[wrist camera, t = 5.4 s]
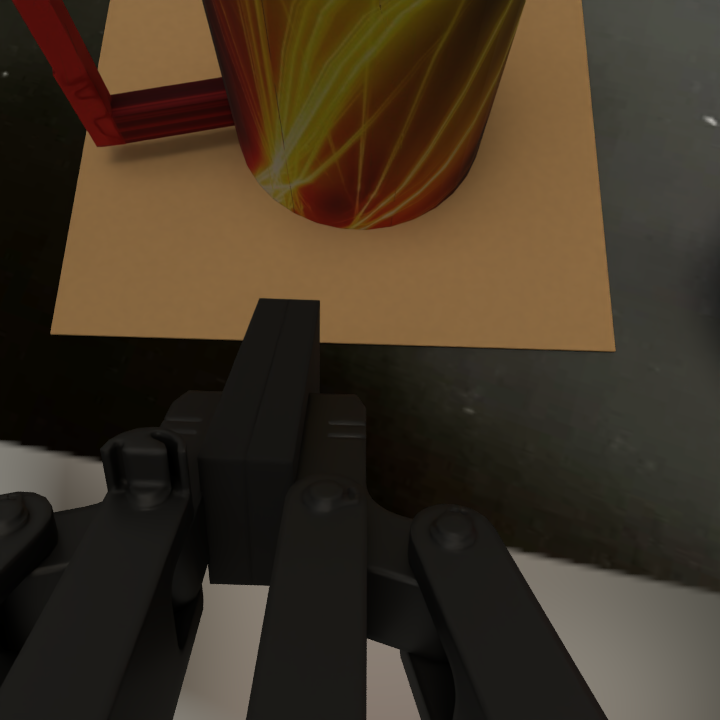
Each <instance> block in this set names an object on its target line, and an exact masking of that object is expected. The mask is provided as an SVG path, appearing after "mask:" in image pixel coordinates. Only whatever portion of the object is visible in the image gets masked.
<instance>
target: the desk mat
mask: <svg viewBox="0 0 720 720" xmlns="http://www.w3.org/2000/svg"><path fill="white" fill-rule="evenodd" d="M98 71H99V73H100V75H101V77H102V79H103V81H104V83H105V85H106V87H107V89H108V91H109V93H110V95H112V94H118V93H125V92H131V91H137V90H144V89H150V88H156V87H162V86H169V85H175V84H181V83H187V82H194V81H200V80H206V79H212V78H219V77H222V75H221V71H220V67H219V64H218V60H217V56H216V52H215V48H214V44H213V41H212V37H211V33H210V29H209V25H208V21H207V18H206V14H205V10H204V6H203V2H202V0H110V4H109V9H108V15H107V21H106V26H105V32H104V37H103V43H102V48H101V54H100V60H99V65H98ZM259 298H272V299H300V300H320V343H337V344H370V345H403V346H435V347H468V348H501V349H534V350H567V351H600V352H615V341H614V331H613V321H612V310H611V300H610V290H609V279H608V269H607V258H606V248H605V238H604V227H603V217H602V207H601V196H600V186H599V176H598V165H597V155H596V145H595V134H594V124H593V114H592V103H591V93H590V82H589V72H588V62H587V51H586V41H585V31H584V20H583V10H582V0H526V2H525V5H524V8H523V11H522V15H521V18H520V21H519V24H518V27H517V30H516V33H515V36H514V40H513V43H512V46H511V49H510V52H509V55H508V58H507V62H506V65H505V68H504V71H503V74H502V77H501V80H500V83H499V87H498V90H497V93H496V96H495V99H494V102H493V105H492V108H491V112H490V115H489V118H488V121H487V124H486V127H485V130H484V134H483V137H482V140H481V143H480V146H479V149H478V152H477V155H476V158H475V160H474V162H473V164H472V166H471V169H470V171H469V173H468V175H467V177H466V178H465V179H464V180H463V182H462V183H461V184H460V185H459V187H458V188H457V189H456V190H455V192H454V193H453V194H452V195H451V196H449V197H448V198H447V199H446V200H445V201H443V202H442V203H441V204H440V205H439V206H437V207H436V208H435V209H433V210H431V211H429V212H427V213H425V214H423V215H422V216H420V217H418V218H416V219H414V220H411V221H408V222H404V223H401V224H398V225H395V226H392V227H385V228H377V229H369V230H360V229H341V228H336V227H332V226H328V225H323V224H319V223H316V222H313V221H311V220H309V219H306V218H304V217H302V216H299V215H297V214H295V213H293V212H292V211H290V210H289V209H287V208H286V207H284V206H283V205H281V204H280V203H278V202H277V201H275V200H274V199H273V198H272V197H271V196H270V195H269V194H268V193H267V192H266V191H265V190H264V189H263V188H262V187H261V186H260V185H259V183H258V182H257V180H256V179H255V177H254V176H253V174H252V172H251V171H250V169H249V168H248V166H247V164H246V161H245V158H244V155H243V153H242V150H241V147H240V144H239V140H238V136H237V132H236V129H235V126H230V127H223V128H217V129H211V130H205V131H199V132H193V133H187V134H181V135H175V136H169V137H163V138H157V139H151V140H145V141H139V142H133V143H127V144H124V145H115V146H107V147H97V146H96V145H95V143H94V141H93V140H92V138H91V136H90V135H89V133H88V131H87V132H86V138H85V143H84V149H83V154H82V160H81V166H80V171H79V177H78V182H77V188H76V193H75V199H74V205H73V210H72V216H71V221H70V227H69V232H68V238H67V244H66V249H65V255H64V260H63V266H62V271H61V277H60V283H59V288H58V294H57V299H56V305H55V311H54V316H53V322H52V327H51V333H50V334H51V335H74V336H107V337H140V338H173V339H206V340H238V341H243V339H244V336H245V334H246V331H247V328H248V326H249V323H250V321H251V318H252V316H253V313H254V310H255V308H256V305H257V303H258V300H259Z"/></svg>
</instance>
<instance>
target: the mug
mask: <svg viewBox="0 0 720 720" xmlns="http://www.w3.org/2000/svg"><path fill="white" fill-rule="evenodd" d="M12 2H13V3H14V5H15V7H16V8H17V10H18V12H19V13H20V15H21V17H22V18H23V20H24V22H25V23H26V25H27V27H28V28H29V30H30V32H31V33H32V35H33V37H34V38H35V40H36V42H37V43H38V45H39V47H40V48H41V50H42V52H43V53H44V55H45V56H46V58H47V60H48V61H49V63H50V65H51V66H52V68H53V76H54V77H55V79H56V81H57V82H58V84H59V85H60V87H61V89H62V90H63V92H64V94H65V95H66V97H67V99H68V100H69V102H70V103H71V105H72V107H73V108H74V110H75V112H76V113H77V115H78V117H79V118H80V120H81V122H82V123H83V125H84V126H85V128H86V130H87V131H88V133H89V135H90V136H91V138H92V140H93V141H94V143H95V145H96V146H97V147H107V146H115V145H124V144H127V143H133V142H139V141H145V140H151V139H157V138H163V137H169V136H175V135H181V134H187V133H193V132H199V131H205V130H211V129H217V128H223V127H230V126H235V129H236V132H237V136H238V140H239V144H240V147H241V150H242V153H243V155H244V158H245V161H246V164H247V166H248V168H249V169H250V171H251V172H252V174H253V176H254V177H255V179H256V180H257V182H258V183H259V185H260V186H261V187H262V188H263V189H264V190H265V191H266V192H267V193H268V194H269V195H270V196H271V197H272V198H273V199H274V200H275V201H277V202H278V203H280V204H281V205H283V206H284V207H286V208H287V209H289V210H290V211H292V212H293V213H295V214H297V215H299V216H302V217H304V218H306V219H309V220H311V221H313V222H316V223H319V224H323V225H328V226H332V227H336V228H341V229H360V230H369V229H377V228H385V227H392V226H395V225H398V224H401V223H404V222H408V221H411V220H414V219H416V218H418V217H420V216H422V215H423V214H425V213H427V212H429V211H431V210H433V209H435V208H436V207H437V206H439V205H440V204H441V203H442V202H443V201H445V200H446V199H447V198H448V197H449V196H451V195H452V194H453V193H454V192H455V190H456V189H457V188H458V187H459V185H460V184H461V183H462V182H463V180H464V179H465V178H466V177H467V175H468V173H469V171H470V169H471V166H472V164H473V162H474V160H475V158H476V155H477V152H478V149H479V146H480V143H481V140H482V137H483V134H484V130H485V127H486V124H487V121H488V118H489V115H490V112H491V108H492V105H493V102H494V99H495V96H496V93H497V90H498V87H499V83H500V80H501V77H502V74H503V71H504V68H505V65H506V62H507V58H508V55H509V52H510V49H511V46H512V43H513V40H514V36H515V33H516V30H517V27H518V24H519V21H520V18H521V15H522V11H523V8H524V5H525V2H526V0H202V2H203V6H204V10H205V14H206V18H207V21H208V25H209V29H210V33H211V37H212V41H213V44H214V48H215V52H216V56H217V60H218V64H219V67H220V71H221V75H222V77H219V78H212V79H206V80H200V81H194V82H187V83H181V84H175V85H169V86H162V87H156V88H150V89H144V90H137V91H131V92H125V93H118V94H112V95H110V93H109V91H108V89H107V87H106V85H105V83H104V81H103V79H102V77H101V75H100V73H99V71H98V69H97V68H96V66H95V64H94V62H93V60H92V58H91V56H90V54H89V52H88V50H87V48H86V46H85V44H84V42H83V40H82V38H81V36H80V34H79V32H78V30H77V28H76V27H75V25H74V23H73V21H72V19H71V17H70V15H69V13H68V11H67V9H66V7H65V5H64V3H63V1H62V0H12Z"/></svg>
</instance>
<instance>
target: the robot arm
mask: <svg viewBox="0 0 720 720" xmlns="http://www.w3.org/2000/svg"><path fill="white" fill-rule="evenodd" d="M319 388H320V300H300V299H272V298H259V300H258V303H257V305H256V308H255V310H254V313H253V316H252V318H251V321H250V323H249V326H248V328H247V331H246V334H245V336H244V339H243V341H242V344H241V346H240V349H239V351H238V354H237V357H236V359H235V362H234V364H233V367H232V369H231V372H230V375H229V377H228V380H227V382H226V385H225V387H224V390H223V392H220V391H192V390H188V391H187V392H186V393H185V394H183V395H182V396H181V397H179V398H178V399H177V400H175V401H174V402H173V403H172V404H171V406H170V408H169V410H168V412H167V414H166V416H165V420H164V421H163V422H162V424H161V426H160V428H159V427H147V428H137V429H134V430H130V431H127V432H123V433H121V434H119V435H117V436H116V437H114V438H112V439H110V440H109V441H108V442H107V443H106V444H105V445H104V446H103V447H102V448H101V449H100V451H101V457H102V462H103V467H104V473H105V478H106V483H107V488H108V492H107V494H106V496H105V498H104V500H103V501H102V502H100V503H98V504H94V505H89V506H86V507H81V508H75V509H70V510H65V511H59V512H53V509H52V506H51V504H50V503H49V501H48V500H47V499H46V497H43V496H41V495H39V494H36V493H33V492H13V493H8V494H3V495H0V720H173V716H174V713H175V709H176V705H177V702H178V698H179V695H180V691H181V687H182V684H183V680H184V676H185V673H186V669H187V665H188V662H189V658H190V655H191V651H192V647H193V644H194V640H195V636H196V633H197V629H198V626H199V622H200V618H201V615H202V611H203V590H202V582H203V578H204V575H205V571H206V568H207V565H208V569H209V579H210V584H234V585H265V586H270V587H269V593H268V598H267V604H266V609H265V616H264V621H263V626H262V632H261V638H260V644H259V649H258V656H257V661H256V666H255V672H254V677H253V684H252V689H251V694H250V700H249V706H248V712H247V717H246V720H366V667H367V666H366V664H367V662H366V661H367V657H366V656H367V651H366V650H367V648H366V647H367V643H366V642H367V638H368V639H371V640H374V641H377V642H379V643H383V644H385V645H388V646H391V647H394V648H397V649H400V656H401V659H402V662H403V665H404V669H405V672H406V675H407V678H408V681H409V684H410V687H411V690H412V693H413V696H414V699H415V702H416V705H417V708H418V712H419V714H420V718H421V720H608V719H607V717H606V715H605V714H604V712H603V710H602V709H601V707H600V705H599V703H598V702H597V700H596V698H595V697H594V695H593V693H592V692H591V690H590V688H589V687H588V685H587V683H586V681H585V680H584V678H583V676H582V675H581V673H580V671H579V670H578V668H577V666H576V665H575V663H574V661H573V660H572V658H571V656H570V654H569V653H568V651H567V649H566V648H565V646H564V644H563V643H562V641H561V639H560V638H559V636H558V634H557V632H556V631H555V629H554V627H553V626H552V624H551V623H550V621H549V619H548V617H547V616H546V614H545V612H544V611H543V609H542V607H541V605H540V604H539V602H538V601H537V599H536V597H535V595H534V594H533V592H532V590H531V589H530V587H529V585H528V583H527V582H526V580H525V579H524V577H523V575H522V573H521V572H520V570H519V568H518V567H517V565H516V563H515V561H514V560H513V558H512V556H511V555H510V553H509V551H508V550H507V548H506V546H505V545H504V543H503V541H502V540H501V538H500V536H499V534H498V533H497V531H496V529H495V528H494V526H493V525H492V524H491V523H490V522H489V521H488V520H487V518H486V517H485V516H483V515H482V514H480V513H478V512H476V511H475V510H473V509H471V508H468V507H464V506H460V505H456V504H437V505H434V506H430V507H427V508H424V509H423V510H422V511H421V512H419V513H418V514H417V515H415V517H414V519H411V518H408V517H404V516H400V515H398V514H395V513H392V512H390V511H388V510H386V509H384V508H383V507H381V506H379V505H378V504H377V503H376V502H375V501H374V500H373V499H372V498H371V496H370V494H369V493H368V491H367V486H366V407H365V406H364V404H363V403H362V402H361V400H360V399H359V398H358V396H357V395H356V394H327V393H319Z"/></svg>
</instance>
